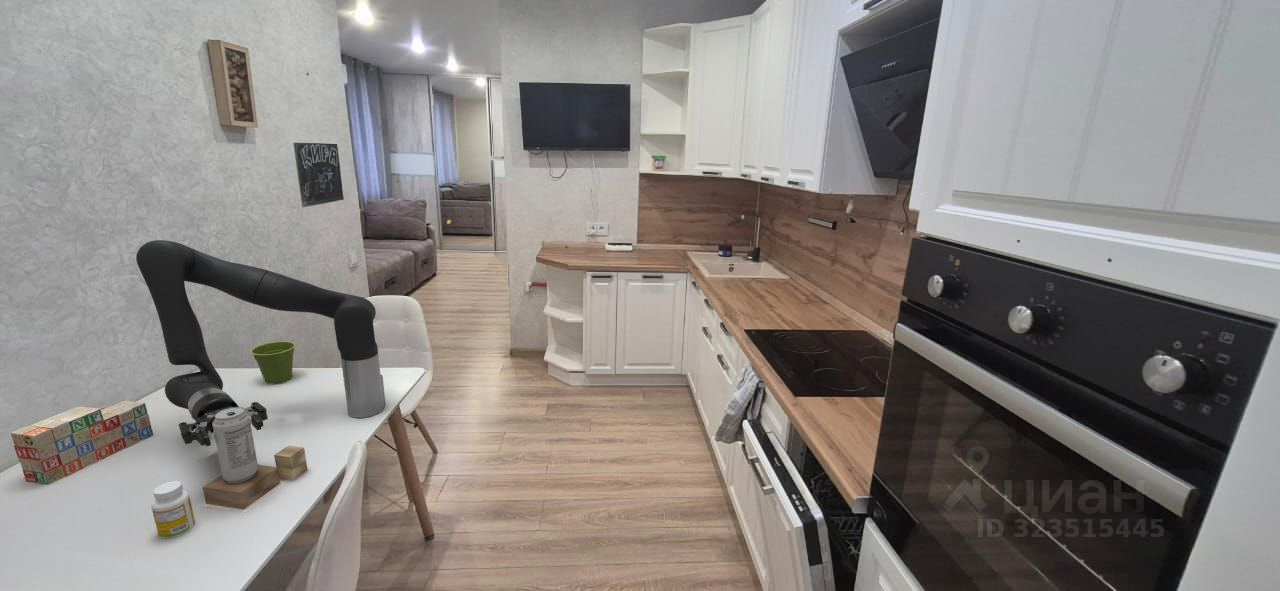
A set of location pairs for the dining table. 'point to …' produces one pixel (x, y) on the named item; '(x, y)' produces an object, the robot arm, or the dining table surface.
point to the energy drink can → (235, 445)
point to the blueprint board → (249, 505)
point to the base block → (241, 489)
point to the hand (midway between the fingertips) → (234, 433)
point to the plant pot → (275, 360)
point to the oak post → (291, 462)
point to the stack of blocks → (78, 439)
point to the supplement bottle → (172, 510)
